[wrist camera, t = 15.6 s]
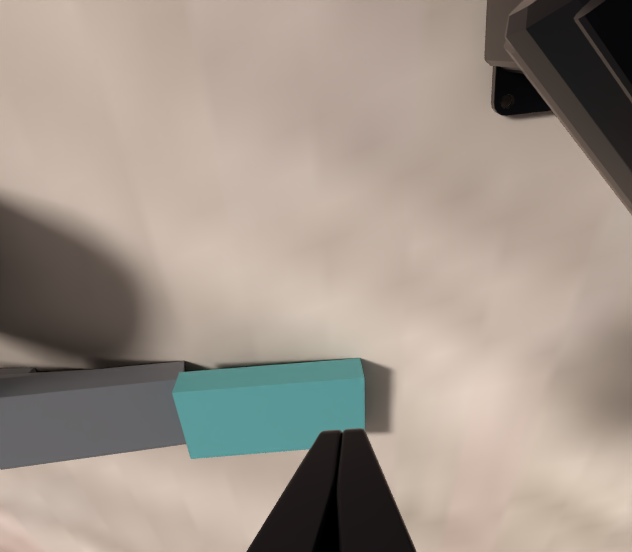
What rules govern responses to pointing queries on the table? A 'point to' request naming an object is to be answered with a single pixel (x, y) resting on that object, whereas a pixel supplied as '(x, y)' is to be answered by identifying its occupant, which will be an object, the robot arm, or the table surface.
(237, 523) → the table surface
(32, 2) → the table surface
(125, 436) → the domino
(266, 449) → the domino
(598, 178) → the table surface
